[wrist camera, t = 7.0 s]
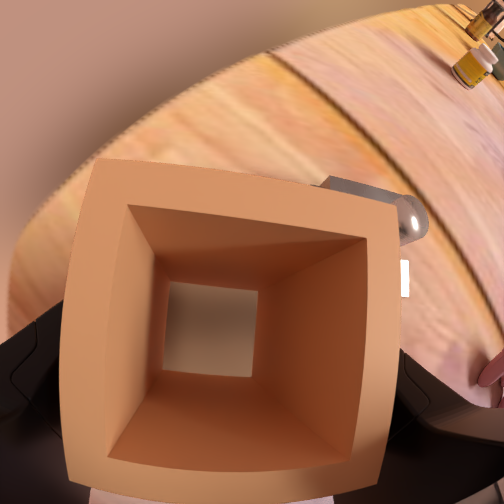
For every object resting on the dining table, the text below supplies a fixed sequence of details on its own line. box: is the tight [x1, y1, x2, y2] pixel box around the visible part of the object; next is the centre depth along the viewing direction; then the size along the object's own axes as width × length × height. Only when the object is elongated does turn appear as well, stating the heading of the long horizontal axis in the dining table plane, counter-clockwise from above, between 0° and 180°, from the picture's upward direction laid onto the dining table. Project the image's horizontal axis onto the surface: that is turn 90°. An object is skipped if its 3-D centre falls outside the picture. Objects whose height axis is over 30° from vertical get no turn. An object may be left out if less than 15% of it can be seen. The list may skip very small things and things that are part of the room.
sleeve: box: [59, 158, 402, 504], centre depth 7 cm, size 5×5×8 cm
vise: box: [310, 176, 429, 298], centre depth 17 cm, size 8×7×8 cm
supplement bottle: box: [451, 43, 498, 90], centre depth 29 cm, size 5×5×10 cm
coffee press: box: [471, 0, 504, 42], centre depth 50 cm, size 17×16×30 cm
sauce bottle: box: [465, 1, 504, 41], centre depth 41 cm, size 7×6×20 cm
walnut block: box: [163, 282, 258, 377], centre depth 16 cm, size 10×9×2 cm
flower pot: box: [491, 42, 504, 81], centre depth 40 cm, size 9×9×9 cm
